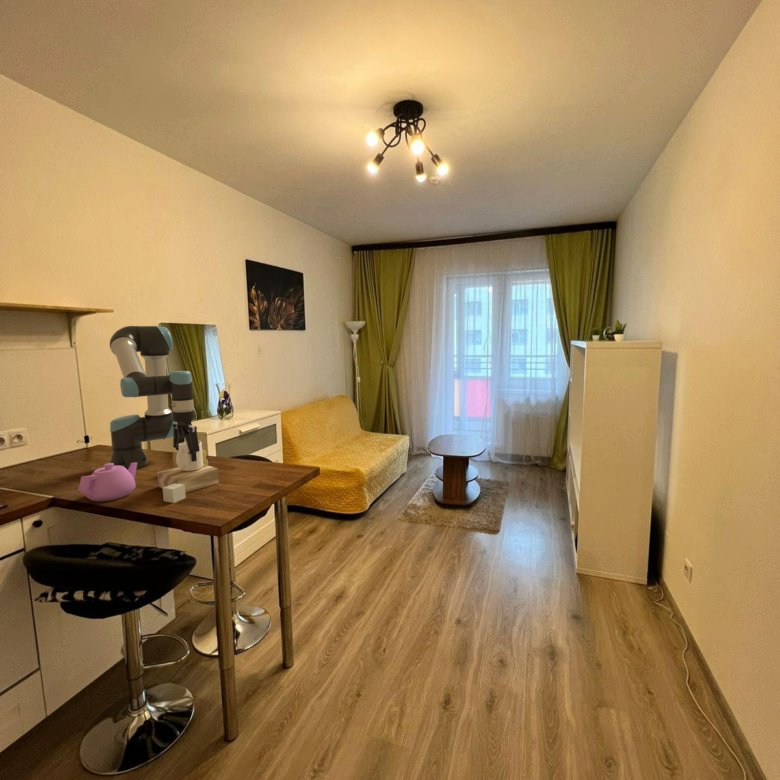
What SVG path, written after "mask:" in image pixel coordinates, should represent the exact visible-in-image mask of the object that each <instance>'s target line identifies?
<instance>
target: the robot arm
mask: <svg viewBox="0 0 780 780" xmlns="http://www.w3.org/2000/svg"><path fill="white" fill-rule="evenodd" d="M172 338H173V337H172V334H171V332H170V329H168V328H167V327H166V326H160V325H158V326H157V325H148V326H147V325H128V326H123V327H121V328H119V329H118V330H116V331H115V332H114V333H113V334H112V336H111V338H110V340H109V348H110V351H111V353H112V354H113V355H114V356H115V357H116V360H117V362H118V365H119V368H120V371H121V373H122V376H123V378H121V379H120V380H119V381H120V382H119V383H120V384H119V385H120V392H121V393H120V394H121V395H122V397H124V398H138V397H139V398H140V397H146V400H147V403H146V404H147V410H146V411H144V416H140V415H139V414H129V415H128V414H127V415H124V416H120V417H117V418H114V419H112V420H111V421H110V422H109V426H110V427H109V432H110V437H111V438H110V439H111V450H112V452H111V455H110V459H109V463H114V465H113V466H123V467H125V468H126V469H127V470H128V469H129V467H130V465H131V463H134V462H137V468H136V469H139V468H142V467H145V466H147V465H148V464H149V463H148V457H147V455H146V453H145V451H144V450H143V444H142V443H144V442H150V441H157V440H158V441H159V440H165V439H171V438H173V440H172V441H173V442H172V444H173V445H172V448H174V449H175V451H176V450H177V453H178V451H179V446H178V444H179V443H184V442H187V445H188V449H189V453H188V455H189V469H190V470H193V469H197V457H196V452H199V451H200V449H199V443H198V441H199V437H198V431H197V430H198V429H197V428H198V427H197V425H195V426H194V425H193V423H192V422H193V421H195V419H196V418H195V410H194V409H195V404H194V403H195V402H194V393H193V391H194V389H193V377H192V372H191V371H189V370H175V371H171V372H170V373H169V375H167V362H166V361H167V358H168V357H169V356H170V352H172V351H173V349H174V345H173V344H174V342H173V339H172ZM138 353H140V357H142V359H144V367H143V363H142V362H141V360H140V357H139V355H138ZM144 369H145V370H144ZM169 395H170V396H171V404H170V405H171V406H172V409H170V407H169V397H168V396H169Z"/></svg>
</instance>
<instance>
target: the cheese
mask: <svg viewBox="0 0 780 780" xmlns="http://www.w3.org/2000/svg"><path fill="white" fill-rule="evenodd" d="M176 455H177V450H176V449H175V450H174V451H172V464H173V465H172V466H173V467H172V468H176V467H178V466H177V464H176ZM202 456H203V464H204V465H208V466H209V460H208V458H207V456H208V453H207V451H206V449H205V450H204V449H203V448H202Z"/></svg>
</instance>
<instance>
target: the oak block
mask: <svg viewBox="0 0 780 780" xmlns="http://www.w3.org/2000/svg"><path fill="white" fill-rule="evenodd" d="M156 473H157V486H158V488H160V489H162V490H163V487H166V486H169V485H171V484H174V483H176V484H183V485H185V494H188V493H190V492H194V491H197V490H200V489H203V488H207V487H210V486H213V485H216V484H219V483H220V482H219V481H220V480H219V468H218V467H215V466H211V465H209V464H208V465H204V464H203V467H202V468H200V469H197V470H193V471H183V470H181V469H180V468H179V467H176V468H174V467H172V468H169V469H164V470H161V471H157V472H156Z"/></svg>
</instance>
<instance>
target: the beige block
mask: <svg viewBox="0 0 780 780" xmlns="http://www.w3.org/2000/svg"><path fill="white" fill-rule="evenodd" d="M162 497H163V502H167V503H173V504H174V503H177V502H179V501H182V500H184V499H186V497H187V496H186V493H185V485H183V484H176V483H174V484H171V485H169V486H166V487H163V489H162Z"/></svg>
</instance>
